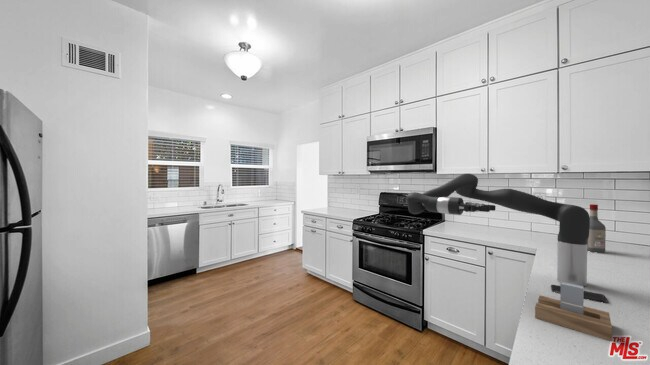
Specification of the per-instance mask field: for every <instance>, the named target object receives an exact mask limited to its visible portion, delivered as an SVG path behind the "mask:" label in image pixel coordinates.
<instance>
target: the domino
mask: <svg viewBox="0 0 650 365" xmlns="http://www.w3.org/2000/svg"><path fill="white" fill-rule="evenodd" d="M560 286H561V294H560V299H559V300H560V309H563V310H567V311H570V312H574V313H578V314H582V315H583V306H584V303H585V302H584V300H585V299H584V291H585V288H584V287H585V286H579V285H574V284H569V283H564V282H560Z"/></svg>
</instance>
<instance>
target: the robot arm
mask: <svg viewBox="0 0 650 365" xmlns="http://www.w3.org/2000/svg"><path fill="white" fill-rule="evenodd" d="M478 184H479V179H478V177H477V176H476V175H475V174H472V173H463V174H460V175H457V177H455V178H453V179H451V180H449V181H448V182H446V183H444V184H442V185H440V186H438V187H435V188H432V189H429V190H427V191H424V192H423V193H420V192H415V191H413V192H409V193H408V194H407V195H406V204H407V209H408V212H409V213H410V214H413V215H419V214H422V213H423V212H425V210H426V211H428V212H430V213H431V212H432V213H440V214H445V215H456V216H461V215H463V213H464V212H466V213H475V212H476V213H478V212H483V213H489V212H491V211H493V212H494V211H496V205H498V206H501V207H504V208H508V209H511V210H514V211H518V212H521V213H522V212H523V213H525V214H526V213H527V214H533V215H540V216H543V217H546V218H549V219H551V220H554V221H556V222H558V223H559V228H558V229H559V231H558V234H557V252H556V253H557V254H556V255H557V258H556V261H557V262H556V264H557V265H556V267H557V268H556V280H557V281H559V282H560V283H561V282H564V283H569V284H574V285H579V286H583V287H586V286H587V285H588V282H587V281H588V251H587V240H588V238H589V228H590V213H589V212H588V211H587V210H586V208H584V207H582V206H578V205H574V204H567V203H561V202H557V201H556V202H555V201H552V200H548V199H544V198H541V197H539V196H536V195H533V194H531V193H528V192H525V191H520V190H517V189H514V188H500V189H494V190H485V189H484V190H483V189H479V188H477V187H478ZM453 193H456V194H457V195H459V196H461V197H455V196H454V197H453V196H451V195H452V194H453ZM462 197H464V198H468V199H473V200H476V201H477V200H478V201H483V202H487V203H490V204H485V203H480V202H471V201H467V202H466V201H465V202H464V200H463V198H462ZM494 204H495V205H494Z"/></svg>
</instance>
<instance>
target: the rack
mask: <svg viewBox="0 0 650 365" xmlns="http://www.w3.org/2000/svg"><path fill="white" fill-rule="evenodd" d="M560 300H561V299H556V298H552V297H549V296H544V295H540V294H539V296H538V298H537V302H536V304H535V306H534V318H535V319H537V320H541V321H544V322H548V323H551V324H554V325H558V326H561V327H564V328H568V329H571V330H575V331H578V332H581V333H585V334H588V335H590V336H594V337H598V338H601V339H604V340H608V341H610V342H611V341H613V326H612V321H611V316H610V312H608V311H605V310H600V309H596V308H593V307H590V306H589V307H588V306H586V305H585V306H584V305H583V315H582V314H578V313H574V312H570V311H567V310H563V309H560Z"/></svg>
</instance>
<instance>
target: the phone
mask: <svg viewBox="0 0 650 365" xmlns="http://www.w3.org/2000/svg"><path fill="white" fill-rule="evenodd" d="M550 289H551V292H552V293H554V292H555V294H560V295H561V285H557V284H550ZM587 299H589V300H588V301H593V302H597V303H598V302H599V303H601V302H603V303H602V304H608V303H609V301H608V300H609V299H607V297H606V296H605V295H604V294H602V293H597V292H592V291H587V290H584V300H587Z"/></svg>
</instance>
